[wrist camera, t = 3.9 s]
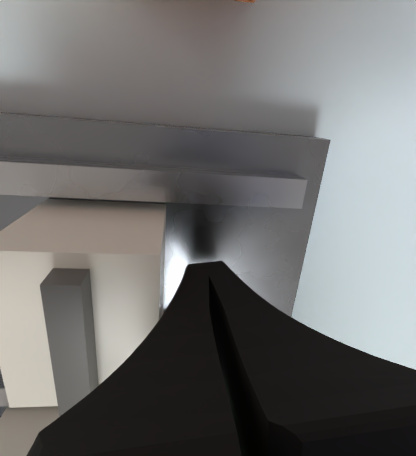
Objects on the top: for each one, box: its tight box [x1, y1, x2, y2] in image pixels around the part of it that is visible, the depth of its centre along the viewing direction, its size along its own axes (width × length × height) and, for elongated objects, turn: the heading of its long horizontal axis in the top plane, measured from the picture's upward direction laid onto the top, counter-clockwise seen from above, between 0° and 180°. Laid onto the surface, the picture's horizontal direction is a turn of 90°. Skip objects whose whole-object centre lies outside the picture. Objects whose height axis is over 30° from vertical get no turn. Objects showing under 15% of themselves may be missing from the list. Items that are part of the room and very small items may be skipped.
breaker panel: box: [0, 112, 330, 418], centre depth 13 cm, size 14×18×3 cm
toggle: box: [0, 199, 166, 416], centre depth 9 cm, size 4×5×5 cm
